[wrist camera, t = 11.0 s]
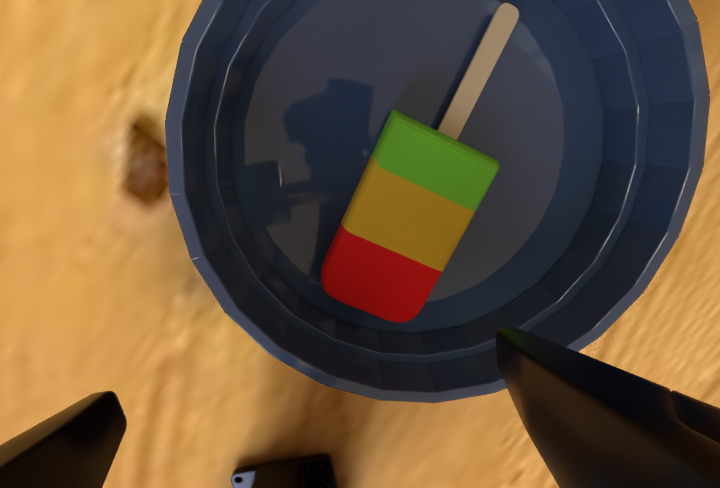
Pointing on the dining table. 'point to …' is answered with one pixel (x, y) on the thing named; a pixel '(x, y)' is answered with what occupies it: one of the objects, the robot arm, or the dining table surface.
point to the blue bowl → (481, 132)
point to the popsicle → (414, 199)
